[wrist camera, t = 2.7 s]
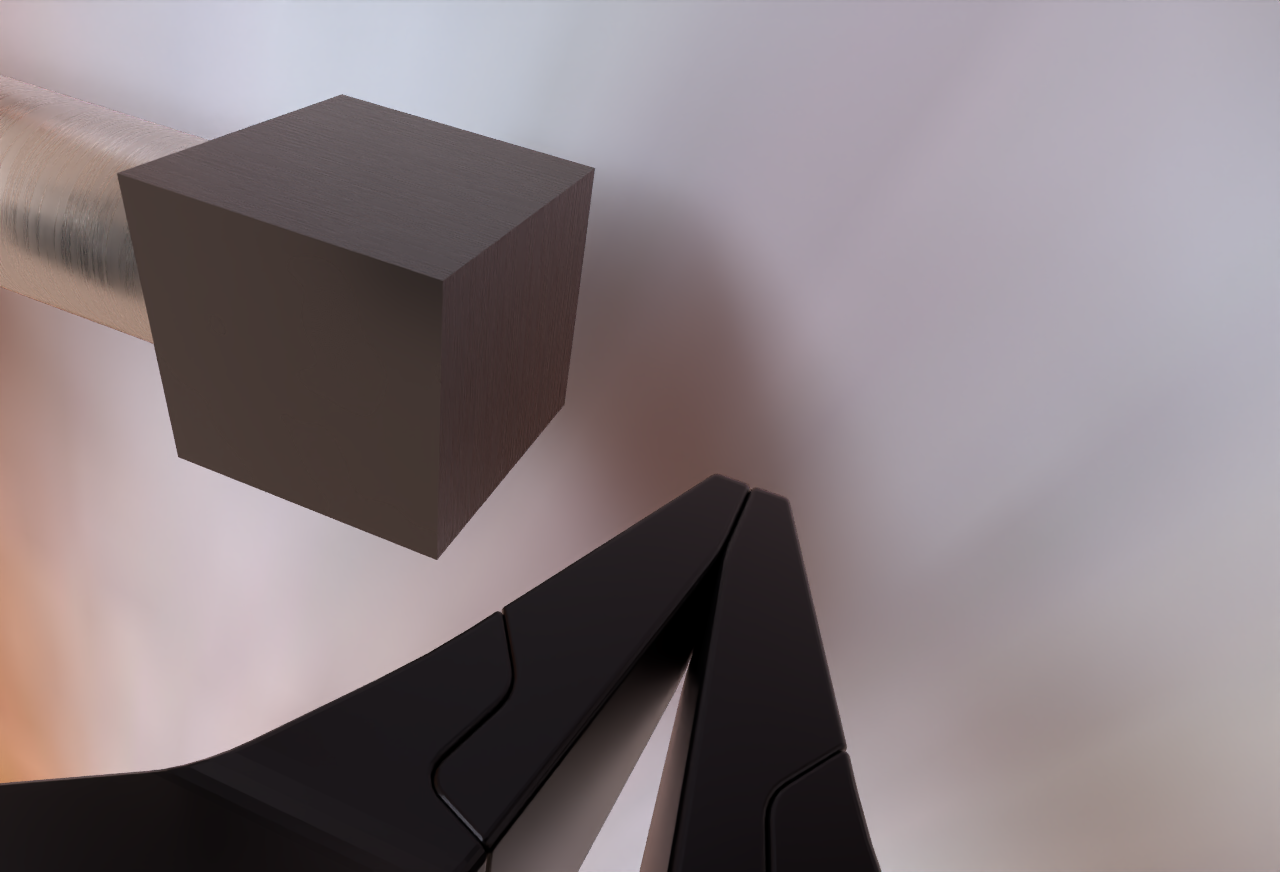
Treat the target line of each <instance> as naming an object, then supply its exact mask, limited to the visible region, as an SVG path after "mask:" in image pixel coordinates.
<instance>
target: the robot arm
mask: <svg viewBox="0 0 1280 872" xmlns="http://www.w3.org/2000/svg"><path fill="white" fill-rule="evenodd" d="M691 656H692V657H691ZM690 659H691V660H690ZM689 661H690V663H689ZM688 663H689V666H688ZM687 666H688V670H687V673H686V677H685V680H684V684H683V688H682V692H681V696H680V700H679V704H678V709H677V713H676V717H675V722H674V726H673V730H672V734H671V739H670V743H669V747H668V752H667V756H666V760H665V764H664V769H663V773H662V777H661V782H660V786H659V790H658V794H657V799H656V803H655V807H654V812H653V816H652V820H651V825H650V829H649V833H648V837H647V842H646V846H645V850H644V855H643V859H642V863H641V867H640V872H881V869H880V866H879V863H878V860H877V857H876V854H875V851H874V848H873V845H872V842H871V838H870V835H869V831H868V827H867V823H866V820H865V816H864V812H863V809H862V805H861V801H860V798H859V794H858V790H857V786H856V782H855V777H854V773H853V769H852V764H851V760H850V756H849V754H848V753H847V752H845V751H846V749H847V745H846V740H845V736H844V732H843V728H842V723H841V719H840V715H839V711H838V706H837V702H836V698H835V693H834V689H833V685H832V681H831V676H830V672H829V668H828V664H827V659H826V655H825V651H824V646H823V642H822V638H821V634H820V629H819V625H818V621H817V616H816V612H815V608H814V604H813V599H812V595H811V591H810V587H809V582H808V578H807V574H806V569H805V565H804V561H803V557H802V552H801V548H800V544H799V540H798V535H797V531H796V527H795V522H794V518H793V514H792V510H791V505H790V503H789V501H788V499H787V498H785V497H783V496H780V495H777V494H775V493H772V492H769V491H766V490H763V489H760V488H753V489H752V490H751V491H750V488H749V486H748V485H747V484H746V483H743V482H741V481H738V480H735V479H732V478H729V477H726V476H724V475H721V474H714V475H712V476H710V477H709V478H707V479H705V480H704V481H702V482H701V483H699V484H698V485H696V486H694V487H693V488H691V489H690V490H688V491H686V492H685V493H683V494H682V495H680V496H679V497H677V498H675V499H674V500H672V501H671V502H669V503H668V504H666V505H664V506H663V507H661V508H660V509H658V510H657V511H655V512H653V513H652V514H650V515H649V516H647V517H645V518H644V519H642V520H641V521H639V522H638V523H636V524H634V525H633V526H631V527H630V528H628V529H627V530H625V531H623V532H622V533H620V534H619V535H617V536H616V537H614V538H612V539H611V540H609V541H608V542H606V543H604V544H603V545H601V546H600V547H598V548H597V549H595V550H593V551H592V552H590V553H589V554H587V555H586V556H584V557H582V558H581V559H579V560H578V561H576V562H574V563H573V564H571V565H570V566H568V567H567V568H565V569H563V570H562V571H560V572H559V573H557V574H556V575H554V576H552V577H551V578H549V579H548V580H546V581H544V582H543V583H541V584H540V585H538V586H537V587H535V588H533V589H532V590H530V591H529V592H527V593H526V594H524V595H522V596H521V597H519V598H518V599H516V600H514V601H513V602H511V603H510V604H508V605H507V606H505V607H504V608H503V609H502V613H501V612H499V611H497V612H495V613H493V614H492V615H490V616H489V617H487V618H485V619H484V620H482V621H481V622H479V623H478V624H476V625H475V626H473V627H471V628H470V629H468V630H466V631H465V632H463V633H461V634H460V635H458V636H456V637H455V638H453V639H451V640H450V641H448V642H446V643H444V644H443V645H441V646H439V647H438V648H436V649H434V650H433V651H431V652H429V653H428V654H426V655H424V656H422V657H420V658H418V659H416V660H414V661H412V662H410V663H408V664H406V665H404V666H402V667H400V668H398V669H396V670H395V671H393V672H391V673H389V674H387V675H385V676H383V677H381V678H379V679H377V680H375V681H373V682H371V683H369V684H367V685H365V686H363V687H361V688H359V689H356V690H354V691H352V692H350V693H348V694H346V695H344V696H342V697H340V698H338V699H336V700H334V701H332V702H330V703H328V704H325V705H323V706H321V707H319V708H317V709H315V710H313V711H311V712H309V713H307V714H305V715H303V716H301V717H299V718H297V719H294V720H292V721H290V722H288V723H286V724H284V725H282V726H280V727H278V728H276V729H274V730H272V731H270V732H268V733H265V734H263V735H261V736H259V737H257V738H255V739H253V740H251V741H249V742H246V743H244V744H242V745H240V746H237V747H235V748H233V749H231V750H228V751H225V752H223V753H220V754H217V755H214V756H212V757H209V758H206V759H203V760H199V761H196V762H192V763H189V764H185V765H181V766H176V767H171V768H167V769H161V770H152V771H142V772H130V773H118V774H106V775H94V776H82V777H70V778H58V779H46V780H34V781H22V782H10V783H0V872H578V871H579V869H580V867H581V865H582V863H583V861H584V860H585V858H586V856H587V854H588V852H589V850H590V849H591V847H592V845H593V843H594V841H595V839H596V837H597V836H598V834H599V832H600V830H601V828H602V826H603V824H604V823H605V821H606V819H607V817H608V815H609V813H610V811H611V810H612V808H613V806H614V804H615V802H616V800H617V798H618V797H619V795H620V793H621V791H622V789H623V787H624V785H625V784H626V782H627V780H628V778H629V776H630V774H631V772H632V771H633V769H634V767H635V765H636V763H637V761H638V759H639V758H640V756H641V754H642V752H643V750H644V748H645V747H646V745H647V743H648V741H649V739H650V737H651V735H652V734H653V732H654V730H655V728H656V726H657V724H658V722H659V721H660V719H661V717H662V715H663V713H664V711H665V709H666V708H667V706H668V704H669V702H670V700H671V698H672V696H673V695H674V693H675V691H676V689H677V687H678V685H679V683H680V681H681V679H682V677H683V675H684V673H685V671H686V668H687Z"/></svg>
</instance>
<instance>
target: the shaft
mask: <svg viewBox="0 0 1280 872" xmlns="http://www.w3.org/2000/svg"><path fill="white" fill-rule="evenodd" d="M594 171H595V168H592V167H589V166H585V165H582V164H578V163H575V162H572V161H568V160H565V159H561V158H558V157H554V156H551V155H548V154H544V153H541V152H537V151H534V150H531V149H527V148H524V147H520V146H517V145H513V144H510V143H507V142H503V141H500V140H496V139H493V138H489V137H486V136H483V135H479V134H476V133H472V132H469V131H465V130H462V129H459V128H455V127H452V126H448V125H445V124H442V123H438V122H435V121H431V120H428V119H424V118H421V117H418V116H414V115H411V114H407V113H404V112H400V111H397V110H394V109H390V108H387V107H383V106H380V105H376V104H373V103H370V102H366V101H363V100H359V99H356V98H352V97H349V96H346V95H339V96H336V97H333V98H330V99H328V100H325V101H322V102H319V103H316V104H313V105H310V106H308V107H305V108H302V109H299V110H296V111H293V112H290V113H288V114H285V115H282V116H279V117H276V118H273V119H270V120H267V121H265V122H262V123H259V124H256V125H253V126H250V127H247V128H245V129H242V130H239V131H236V132H233V133H230V134H227V135H225V136H222V137H219V138H216V139H213V140H207V139H203V138H200V137H197V136H194V135H191V134H188V133H184V132H181V131H178V130H175V129H172V128H168V127H165V126H162V125H159V124H156V123H153V122H149V121H146V120H143V119H140V118H137V117H133V116H130V115H127V114H124V113H121V112H117V111H114V110H111V109H108V108H105V107H102V106H98V105H95V104H92V103H89V102H86V101H82V100H79V99H76V98H73V97H70V96H66V95H63V94H60V93H57V92H54V91H51V90H47V89H44V88H41V87H38V86H35V85H31V84H28V83H25V82H22V81H19V80H15V79H12V78H9V77H6V76H3V75H0V287H2V288H5V289H8V290H10V291H13V292H16V293H19V294H21V295H24V296H27V297H29V298H32V299H35V300H37V301H40V302H43V303H45V304H48V305H51V306H54V307H56V308H59V309H62V310H64V311H67V312H70V313H72V314H75V315H78V316H80V317H83V318H86V319H89V320H91V321H94V322H97V323H99V324H102V325H105V326H107V327H110V328H113V329H115V330H118V331H121V332H124V333H126V334H129V335H132V336H134V337H137V338H140V339H142V340H145V341H148V342H150V343H153V344H154V347H155V352H156V356H157V361H158V365H159V370H160V375H161V379H162V384H163V388H164V393H165V398H166V402H167V407H168V411H169V416H170V421H171V425H172V430H173V434H174V439H175V444H176V448H177V453H178V457H180V458H182V459H185V460H187V461H190V462H192V463H195V464H197V465H200V466H202V467H205V468H207V469H210V470H212V471H215V472H217V473H220V474H222V475H225V476H227V477H230V478H232V479H235V480H238V481H240V482H243V483H245V484H248V485H250V486H253V487H255V488H258V489H260V490H263V491H265V492H268V493H270V494H273V495H275V496H278V497H280V498H283V499H285V500H288V501H290V502H293V503H295V504H298V505H300V506H303V507H305V508H308V509H310V510H313V511H315V512H318V513H320V514H323V515H325V516H328V517H330V518H333V519H335V520H338V521H340V522H343V523H345V524H348V525H350V526H353V527H355V528H358V529H360V530H363V531H365V532H368V533H371V534H373V535H376V536H378V537H381V538H383V539H386V540H388V541H391V542H393V543H396V544H398V545H401V546H403V547H406V548H408V549H411V550H413V551H416V552H418V553H421V554H423V555H426V556H428V557H431V558H433V559H436V560H437V559H438V558H439V557H440V556H441V554H442V553H443V552H444V551H445V550H446V548H447V547H448V546H449V545H450V543H451V542H452V541H453V540H454V539H455V537H456V536H457V535H458V534H459V532H460V531H461V530H462V529H463V528H464V526H465V525H466V524H467V523H468V521H469V520H470V519H471V518H472V517H473V515H474V514H475V513H476V512H477V511H478V509H479V508H480V507H481V506H482V504H483V503H484V502H485V501H486V500H487V498H488V497H489V496H490V495H491V493H492V492H493V491H494V490H495V489H496V487H497V486H498V485H499V484H500V482H501V481H502V480H503V479H504V478H505V476H506V475H507V474H508V473H509V471H510V470H511V469H512V468H513V467H514V465H515V464H516V463H517V462H518V460H519V459H520V458H521V457H522V456H523V454H524V453H525V452H526V451H527V449H528V448H529V447H530V446H531V445H532V443H533V442H534V441H535V440H536V438H537V437H538V436H539V435H540V434H541V432H542V431H543V430H544V429H545V428H546V426H547V425H548V424H549V423H550V421H551V420H552V419H553V418H554V417H555V415H556V414H557V413H558V412H559V410H560V409H561V408H562V407H563V406H564V403H565V395H566V387H567V380H568V372H569V364H570V356H571V349H572V341H573V333H574V326H575V318H576V310H577V302H578V295H579V287H580V279H581V271H582V264H583V256H584V248H585V240H586V233H587V225H588V217H589V210H590V202H591V194H592V186H593V179H594Z"/></svg>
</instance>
